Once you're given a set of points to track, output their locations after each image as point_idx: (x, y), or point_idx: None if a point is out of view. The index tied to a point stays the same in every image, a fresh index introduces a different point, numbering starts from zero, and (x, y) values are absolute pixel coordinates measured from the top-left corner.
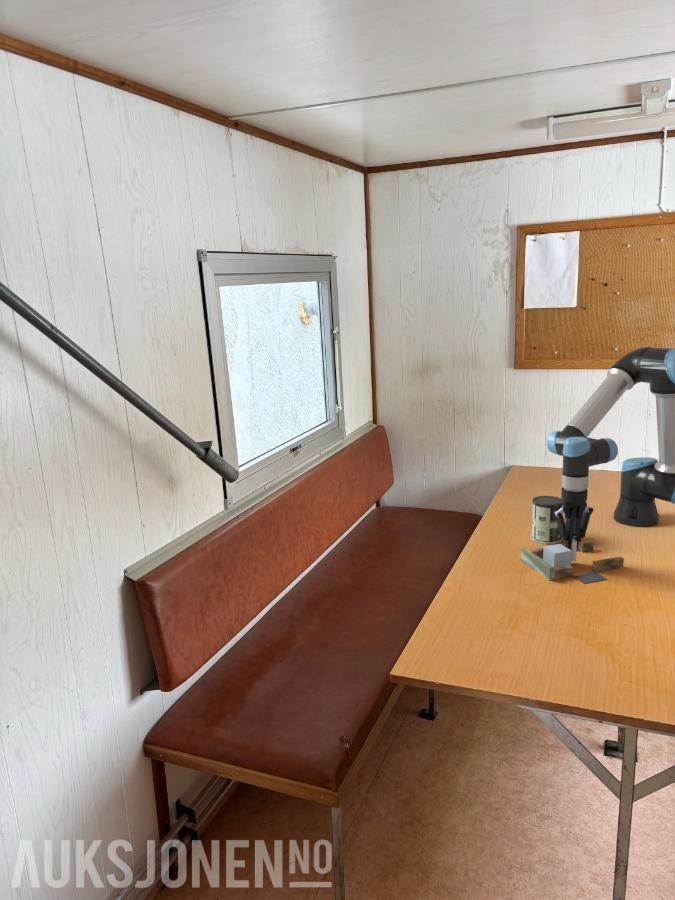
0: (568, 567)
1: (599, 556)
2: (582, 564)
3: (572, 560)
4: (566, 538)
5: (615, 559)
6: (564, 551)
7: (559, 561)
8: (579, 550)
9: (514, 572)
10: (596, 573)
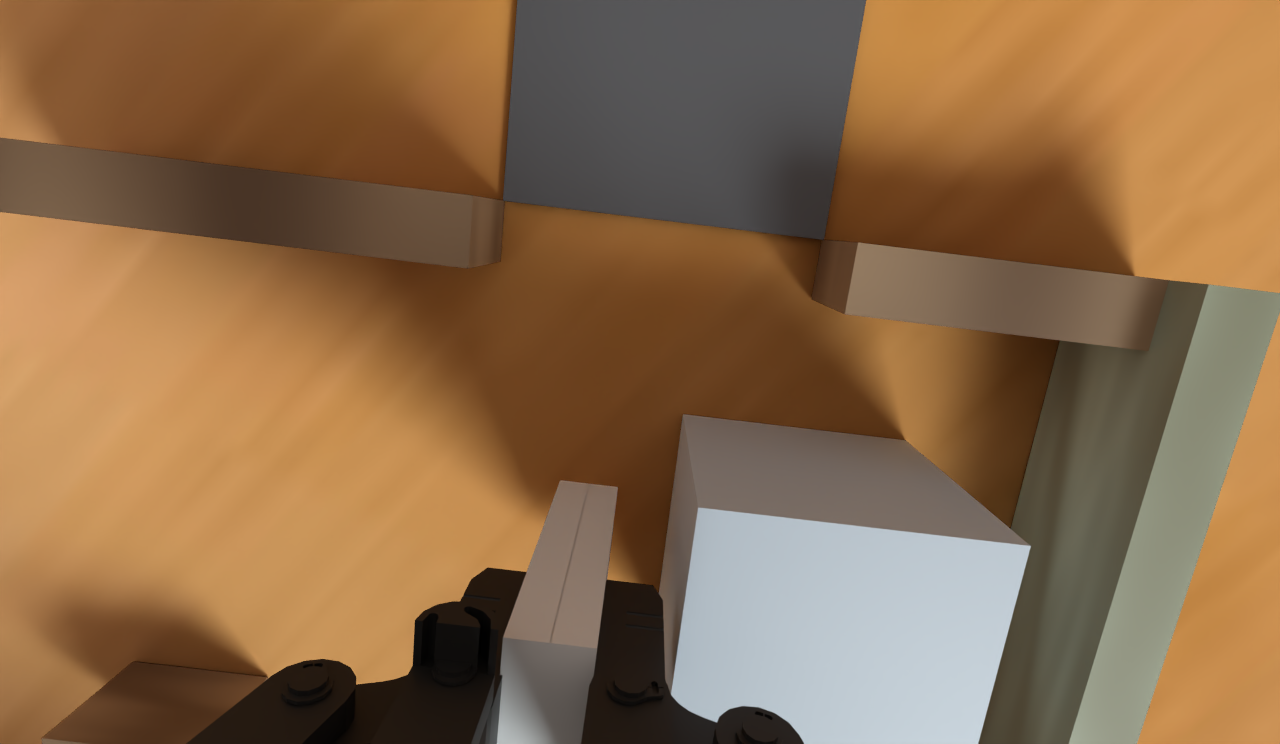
0: (922, 264)
1: (168, 516)
2: (485, 441)
3: (609, 492)
4: (766, 740)
5: (127, 160)
6: (830, 533)
7: (878, 473)
8: None
9: (1275, 617)
10: (528, 152)
